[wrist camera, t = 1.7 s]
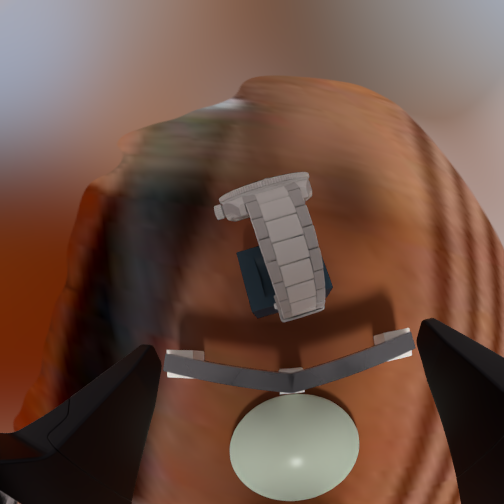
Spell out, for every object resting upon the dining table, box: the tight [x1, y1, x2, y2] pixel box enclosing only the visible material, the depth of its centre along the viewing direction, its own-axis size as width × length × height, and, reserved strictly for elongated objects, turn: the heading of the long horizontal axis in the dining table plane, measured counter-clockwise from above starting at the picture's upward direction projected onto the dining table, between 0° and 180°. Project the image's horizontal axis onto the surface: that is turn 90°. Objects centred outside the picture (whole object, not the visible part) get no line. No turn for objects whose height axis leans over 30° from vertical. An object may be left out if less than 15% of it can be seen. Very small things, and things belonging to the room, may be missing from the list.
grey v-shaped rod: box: [167, 328, 412, 394], centre depth 17 cm, size 17×3×2 cm, turn 93°
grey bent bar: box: [163, 331, 415, 393], centre depth 16 cm, size 16×3×1 cm, turn 93°
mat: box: [230, 394, 359, 501], centre depth 16 cm, size 10×10×1 cm
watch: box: [214, 172, 333, 322], centre depth 16 cm, size 6×8×11 cm
